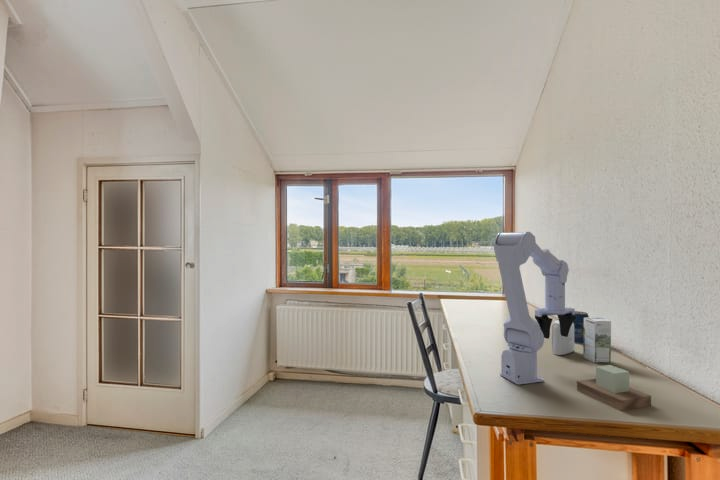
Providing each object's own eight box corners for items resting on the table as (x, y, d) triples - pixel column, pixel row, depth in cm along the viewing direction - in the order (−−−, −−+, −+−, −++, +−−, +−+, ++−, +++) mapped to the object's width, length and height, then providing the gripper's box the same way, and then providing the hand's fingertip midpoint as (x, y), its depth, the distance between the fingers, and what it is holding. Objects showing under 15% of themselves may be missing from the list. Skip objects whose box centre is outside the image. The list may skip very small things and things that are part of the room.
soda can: (568, 342, 140) (568, 312, 140) (571, 338, 145) (571, 310, 145) (588, 345, 135) (588, 315, 135) (590, 341, 140) (590, 312, 141)
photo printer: (564, 348, 131) (564, 316, 131) (576, 351, 127) (576, 318, 128) (550, 353, 125) (549, 319, 126) (562, 356, 122) (562, 322, 122)
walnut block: (621, 413, 82) (621, 400, 82) (576, 392, 94) (576, 381, 94) (651, 407, 85) (651, 395, 85) (604, 388, 97) (604, 377, 97)
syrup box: (598, 357, 121) (598, 316, 121) (611, 363, 115) (611, 320, 115) (583, 357, 121) (582, 316, 121) (595, 363, 115) (594, 320, 115)
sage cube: (614, 393, 86) (614, 373, 86) (596, 385, 91) (595, 366, 91) (629, 391, 88) (629, 371, 88) (610, 383, 93) (609, 364, 93)
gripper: (546, 298, 107) (547, 342, 107) (582, 296, 111) (583, 338, 111) (530, 295, 114) (530, 336, 114) (564, 293, 118) (564, 333, 118)
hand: (555, 336), depth 113 cm, fingers open, 7 cm apart
